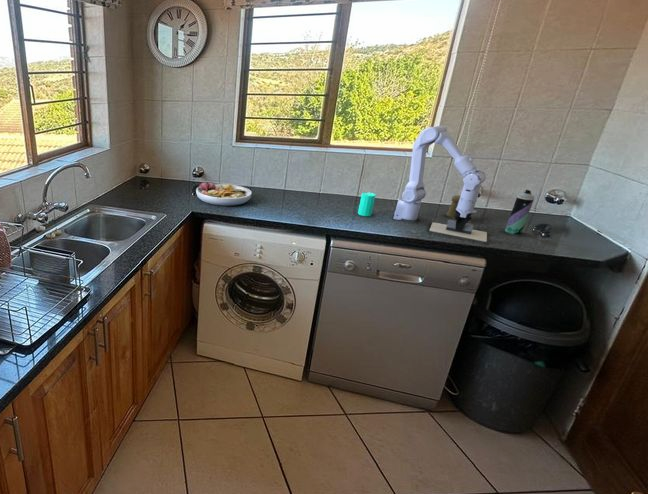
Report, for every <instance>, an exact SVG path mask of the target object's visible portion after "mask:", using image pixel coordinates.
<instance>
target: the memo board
mask: <svg viewBox="0 0 648 494" xmlns="http://www.w3.org/2000/svg"><path fill="white" fill-rule="evenodd" d="M446 227H447V224H444V223H439V222H432V223H431V225H430V228H429V232H434V233H440V234H445V235H450V236H454V237H458V238H459V237H460V238H465V239H469V240H476V241H479V242H480V241H481V242H485V243H487V242H488V232H487V231H483V230H477V229H472V233H471V234H467V233H462V232H456V231H451V230H446Z"/></svg>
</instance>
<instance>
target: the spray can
mask: <svg viewBox="0 0 648 494" xmlns="http://www.w3.org/2000/svg"><path fill="white" fill-rule="evenodd" d="M534 201H535V196H534V195H533V194H532V191H531V190H530V189H525V191H523V192H522V193H518V194H517V196H516V199H515V202H514V205H513V207H512V209H511V213H510V215H509V218H508V221H507V223H506V227H505V229H504V232H506V233H509V234H511V235H521V234H522V232H523V230H524V228H525V225H526V222H527V219H528V217H529V214H530V211H531V209H532V206H533V203H534Z"/></svg>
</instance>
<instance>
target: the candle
mask: <svg viewBox="0 0 648 494" xmlns="http://www.w3.org/2000/svg"><path fill="white" fill-rule="evenodd" d="M376 196H377V194H376V193H374V192H370V191H368V192H362V193H361V195H360V201H359V206H358V209H357V214H358V215H359V216H362V217H371V216H372V213H373V209H374V204H375V199H376Z"/></svg>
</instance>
